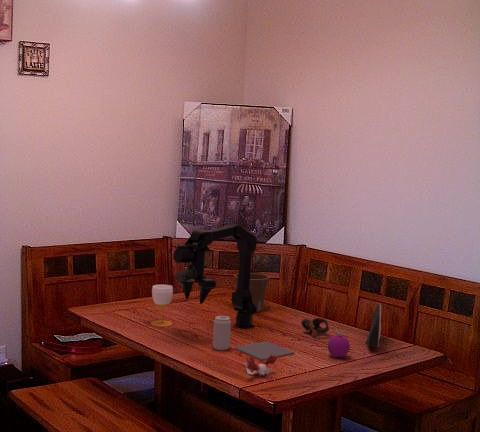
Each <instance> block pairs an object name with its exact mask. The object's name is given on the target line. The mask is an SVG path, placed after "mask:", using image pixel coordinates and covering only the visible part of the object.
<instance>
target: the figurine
mask: <svg viewBox="0 0 480 432" xmlns="http://www.w3.org/2000/svg"><path fill="white" fill-rule="evenodd" d="M270 354H271V353H270ZM245 359H246V362H244V363H243V366H244V367H245V369H246V373H247V374H248V375H251V376H253V375H256V374H258V373H259V376H260V377H261V376H264V377H265V374H266V375H269V373H270V371H272V370H273V368H272V367H270V368H267V366H268V365H269V364H270V365H274V364H275V362H276V361H277V360H278V357H277V358H276V355H274V356H273V355H272V354H271V355H270V357H269V359H268V360H265V361H264V362H262V363H258V364H256V363H255V360H254V359H255V358H254V357H253V356H249V359H248V358H247V357H246V358H245Z"/></svg>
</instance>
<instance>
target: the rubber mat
mask: <svg viewBox="0 0 480 432" xmlns="http://www.w3.org/2000/svg"><path fill="white" fill-rule="evenodd" d="M234 350H236V351H239V352H240V353H243V354H246V355H247V356H249V357H252V356H253V359H256V360H258V361H261V362H263V361H267V360H268V359H269V357H270V355H271V354H272V355H273V356H274V355H276V358H277V359H278V358H280V357H281V358H282V357H286V356H291V355H295V352H294V351H292V350H290V349H287V348H285V347H283V346H280V345H277V344H275V343H272V342H271V341H268V340H267V341H266V340H265V341H262V342H261V341H260V342H256V343H251V344H244V345H240V346H235V347H234ZM270 353H271V354H270Z"/></svg>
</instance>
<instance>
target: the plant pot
mask: <svg viewBox="0 0 480 432" xmlns="http://www.w3.org/2000/svg"><path fill="white" fill-rule="evenodd" d="M238 274H239V272H237V273H236V274H234V278H235V286H236V288H237V287H238ZM269 279H270V276H269V275H267V274H264V273H255V272H250V283H249V290H250V292H251V295H252V303H253V304H254V305H255V307H256V308H257V311H256V313H261V312H263V311H264V305H265V299H266V293H267V292H266V290H267V286H268V283H269Z"/></svg>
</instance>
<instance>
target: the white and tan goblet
mask: <svg viewBox="0 0 480 432" xmlns="http://www.w3.org/2000/svg"><path fill="white" fill-rule="evenodd" d="M173 295H174V288H173V285H171V284H154V285H152V288H151V296H152V300H153V302H154V304H155V305H156V306H157V307H159V308H160V320H159V319H158V320H153V321H151V322H150V325H151V326H154V327H158V328H159V327H162V328H164V327H165V328H166V327H170V326H172V325H173V322H171V321H168V320H165V319H164V317H163V316H164V314H163V313H164V308H165V307H167V306H169V304H171V302H172V298H173ZM163 319H164V320H163Z"/></svg>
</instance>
